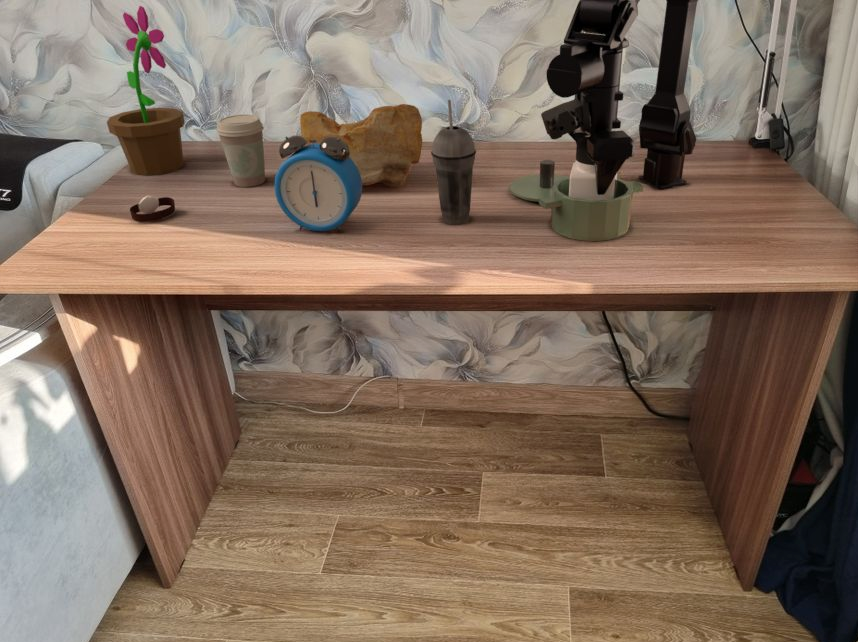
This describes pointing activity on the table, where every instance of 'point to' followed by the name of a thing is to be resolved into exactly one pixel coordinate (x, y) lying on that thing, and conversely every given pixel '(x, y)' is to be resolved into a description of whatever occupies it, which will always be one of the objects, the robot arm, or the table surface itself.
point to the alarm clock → (317, 183)
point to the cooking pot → (590, 212)
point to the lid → (536, 183)
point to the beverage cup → (454, 171)
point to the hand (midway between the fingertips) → (593, 184)
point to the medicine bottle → (586, 176)
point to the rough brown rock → (374, 141)
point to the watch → (152, 209)
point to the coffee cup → (243, 148)
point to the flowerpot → (148, 112)
